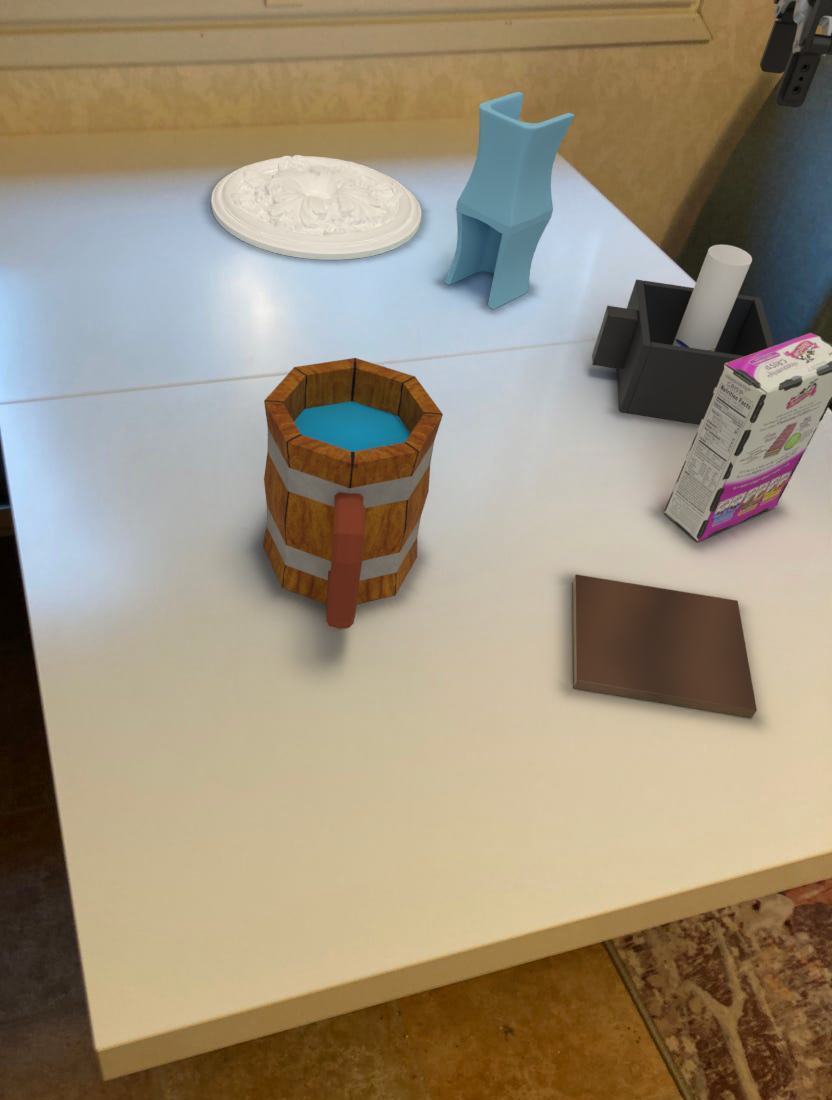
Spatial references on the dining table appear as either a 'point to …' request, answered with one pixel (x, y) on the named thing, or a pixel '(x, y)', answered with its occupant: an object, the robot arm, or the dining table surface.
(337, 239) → the ceiling medallion
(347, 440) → the mug
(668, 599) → the cutting board
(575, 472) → the dining table surface
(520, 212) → the blue flared stand
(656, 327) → the dark gray open box
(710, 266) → the tube
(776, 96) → the robot arm
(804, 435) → the candy bar box
